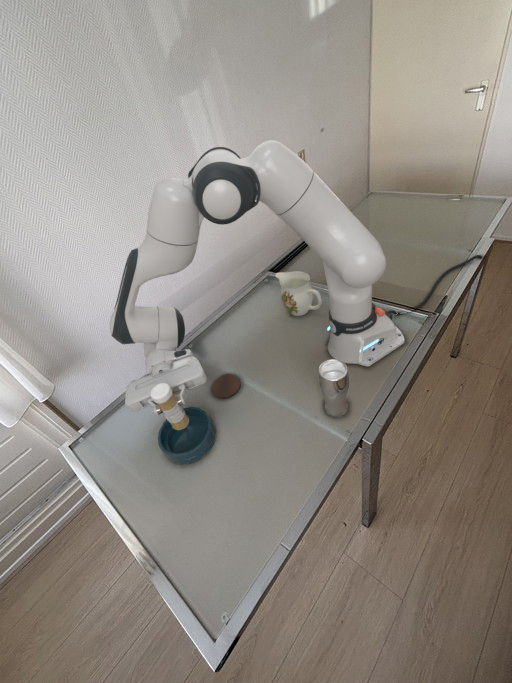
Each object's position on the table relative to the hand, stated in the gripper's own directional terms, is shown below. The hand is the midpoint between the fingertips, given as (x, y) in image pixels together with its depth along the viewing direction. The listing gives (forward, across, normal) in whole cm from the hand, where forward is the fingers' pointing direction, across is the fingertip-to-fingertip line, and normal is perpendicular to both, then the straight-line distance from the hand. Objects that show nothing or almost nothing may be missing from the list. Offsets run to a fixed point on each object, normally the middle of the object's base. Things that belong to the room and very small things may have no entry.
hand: (170, 408), depth 74 cm
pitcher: (-35, +48, +17) cm, 62 cm away
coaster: (-15, +13, +17) cm, 26 cm away
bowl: (-2, -1, +17) cm, 17 cm away
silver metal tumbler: (+7, +38, +16) cm, 42 cm away
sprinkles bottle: (-1, 0, +8) cm, 8 cm away
